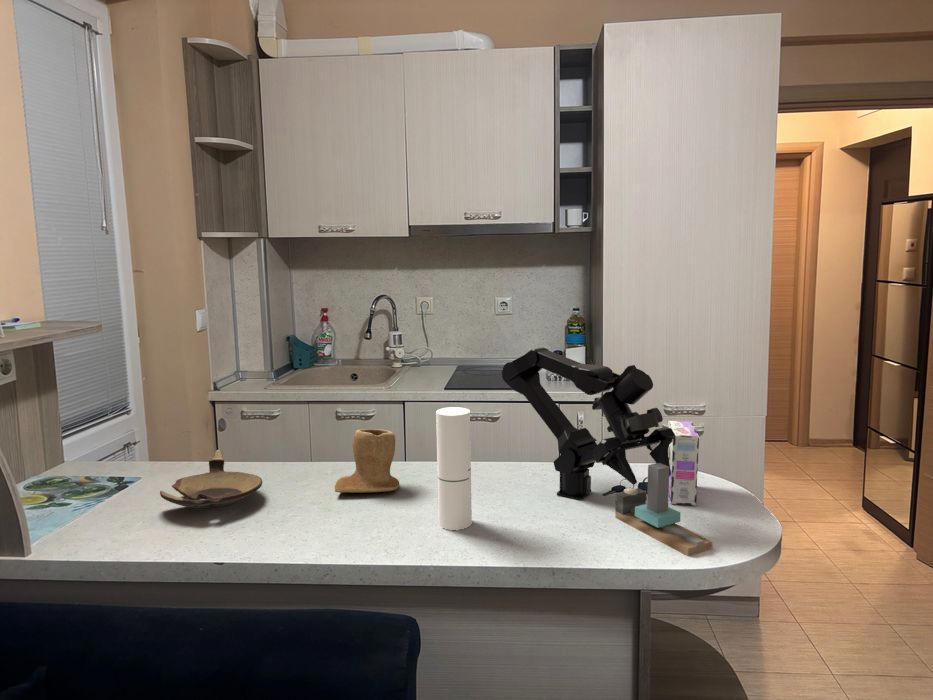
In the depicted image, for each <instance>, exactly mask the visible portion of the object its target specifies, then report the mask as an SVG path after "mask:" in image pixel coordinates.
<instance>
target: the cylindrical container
mask: <svg viewBox="0 0 933 700" xmlns="http://www.w3.org/2000/svg"><path fill="white" fill-rule="evenodd" d="M435 421H436V424H435V425H436V427H435V428H436V466H437V471H436V472H437V473H436V474H437V511H438V526H439V525H440V526H441V527H443V528H446V529H452V530H456V531H460V530H459V529H463V530H465V529H464V528H466V529H468V528H467V527H469V526H470V525H471V524H472V523H473V522H472V511H473V510H472V508H473V507H472V463H471V462H472V459H471V458H472V457H471V456H472V455H471V454H472V452H471V450H472V449H471V446H472V445H471V410H470V409H469V408H465V407H458V406H451V407H449V406H448V407H442V408H439V409H437V410H436V411H435ZM440 526H439V527H440ZM471 526H472V525H471ZM471 526H470V527H471ZM441 527H440V528H441ZM470 527H469V528H470ZM443 528H442V529H443ZM446 529H445V530H446ZM452 530H451V531H452Z"/></svg>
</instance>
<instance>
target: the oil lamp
mask: <svg viewBox="0 0 933 700" xmlns="http://www.w3.org/2000/svg"><path fill="white" fill-rule="evenodd" d="M224 466H225V460H224V457H223V452H222V450H220V449H217V450H215V452H214V456H213V457H212V459H209V461H208V467H209V468H208V469H209V470H208V471H209V472H204V473H200V474H196V475H189V476H185V477H181V478H179V479H177V480H176V481H175V483H174V484H171V488H173V489H174V490H175V491H176V492H178V493H179V494H180V495H182V496H183V497H185V498H183V497H180V496H175V495H172V494H170V493H168V492H165V491H163V490H160V492H159V495H160V497H161V498H162V499H164V501H167V502H169V503H173V504H175V505H178V506H182V507H188V508H193V509H194V508H196V509H197V508H198V509H207V508H208V509H210V508H219V507H224V506H228V505H231V504H233V503H236V502H238V501H240V500H242V499H244V498H246V497H248V496H249V495H252V494H254V493H255V492H256V491H258V490H259V489H260V488H262V486H263V479H262V478H261V477H260V476H259V475H257V474H253V473H247V472H241V471H225V470H224ZM199 497H202V498H203V499H200V498H199Z"/></svg>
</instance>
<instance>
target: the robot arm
mask: <svg viewBox="0 0 933 700" xmlns="http://www.w3.org/2000/svg"><path fill="white" fill-rule="evenodd" d="M543 369H544V370H546V371H549V372H550V373H552V374H554V375H556V376H557V375H558V376H560V377H562V378H564V379H566V380H569V381H571V382H572V383H573V385H575V387H576V389H578V390H580V391H582V392H583V393H584V394H586V395H589V396H592V395H593V396H594V395H597V394H601V393H603V394H601V396H600V397H595V398H594V399H593V400H594V402H593V403H592V407H591V410H593V411H596V410H597V411H598V410H601V412H602V414H603V416H604V417H605V419H606V422H607V424H608V426H607V428H606V430H607V431H608V433H613V435H614V436H613V437H608V438H603V439H602V440H601V441H600V442H599V443H598V444H597V439H596V438H595V437H594V436H592V434H591V432H590V431H589V429H587V428H586V427H583V428H580V429H578V428H576V427H575V426H574V425H573V424H572V422H571V421H570V420H569V418H567V416H566V414H564V412H563V411H562V410H561V408H560V407H559V406H558V404H556V402H555V401H554V399H553V398H552V397H551V395H549V393H548V392H547V390H546V389H545V388H544V386H543V385H542V383H541V378H540V377H541V376H540V371H542V370H543ZM501 377H502V380H503V382H504V383H506V385H507V386H508V387H509V388H510V389H511V390H512V391H514V392H516V393H518V394H520V395H522V396H524V397H525V398H526V400H527V401H528V402H529V403H530V405H531V407H532V408H533V409H534V411H535V412H536V413H537V415H538V416H539V418H541V420H542V422H543V423H544V424H545V425H546V426H547V427H548V429H549V430H550V432H551V433H552V434H553V436H554V437H555V438H556V440H557V448H558V453H560V455H558V457H557V458H556V459H555V460H554V461H553V467H554V470H555V471H556V472H559V490H558V491H557V492H556V496H561V497H566V498H571V499H575V500H583V499H585V498H586V497H587V496H588V495H589V494H591V493H592V489H591V488H592V485H591V484H592V476H591V475H590V468H594V465H595V463H597V464H598V463H601V464H602V465H603V466H604V465H605V466H608V468H611V469H612V470H613V471H614V472H616V473H618V474H619V475H620V476H621V477H623V479H625V480H627V481H628V482H629V483H631V484H632V485H636V484H637V482H638V481H637V478H636V476H635V474H634V471H633V469H632V467H631V465H630V463H629V461H628V460H627V456H626V453H627V451H628V450H632V449H633V450H634V449H638V448H644V447H646V449H648V450H649V451H650V452H649V456H650V457H651V458H652V459H653V461H654V462H655V463H661V464H664V465H666V466H669V476H670V475H671V470H670V463H669V456H668V448H669V445H670V444H671V443H672V441H673V439H674V438H675V437H676V436H675V434H674V432H673V430H672V429H671V428H669V427H668V426H666V427H665V426H664V427H661V428H660V425H659V424H660V423H662V422H663V414H662V412H661V410H660V409H659V408H658V407H654V408H651V409H647V410H646V412H645V413H642V414H639V412H637V411H634V412H633V411H632V410H631V407H630V406H629V405H635V404H636V403H638V402H639V401H640V400H641V399H642V398H643V397H644V396H645V395H646V394H648V393H650V391H651V390H652V389H653V386H654V383H653V380H652V378H651V376H650V374H647V373H646V372H645V371H643V370H641V369H639V368H637V367H636V365H635V364H632V365H628V366H627V367H626V368H624V370H623V371H622V373H621V374H619V373H616V372H613V370H612V369H611V368H610V367H609V366H604V365H599V364H592V363H591V364H587V363H582V362H579V361H576V360H573V359H572V358H568V357H566V356H563V355H561V354H558V353H556V352H554V351H551V350H549V349H548V348H545V347H538V348H533V349H530V350H529V351H528V352H526V353H525V354H523V355H522V356H520V357H518V358H516V359H514V360H512V361H508V362H506V363H505V364H504V365H503V366H502V371H501ZM652 428H655V429H654V430H653V431H652V432H651V433H650V429H652ZM648 433H650V434H649V435H648V436H646V435H647V434H648Z"/></svg>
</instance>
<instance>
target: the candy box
mask: <svg viewBox="0 0 933 700" xmlns="http://www.w3.org/2000/svg"><path fill="white" fill-rule="evenodd" d="M667 423H668V424H667V425H668V426H667V427H669V428H671V429H672V430H673V432H674V434H675V436H676V437H675V438H674V439H673V441H672V443H671V444H670V445H669V448H668V456H669V463H670V470H671V475H670V476H669V500H670V504H671V505H684V506H685V505H686V506H694V507H695V506H697V491H698V471H699V470H698V469H699V445H700V436H699V434H698V432H697V429H696V427H695V425H694V423H693V421H689V420H688V421H686V420H668V422H667Z"/></svg>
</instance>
